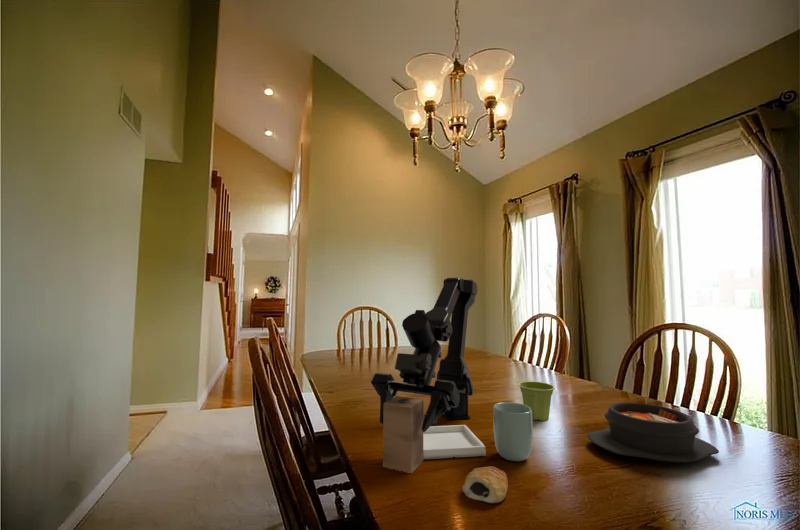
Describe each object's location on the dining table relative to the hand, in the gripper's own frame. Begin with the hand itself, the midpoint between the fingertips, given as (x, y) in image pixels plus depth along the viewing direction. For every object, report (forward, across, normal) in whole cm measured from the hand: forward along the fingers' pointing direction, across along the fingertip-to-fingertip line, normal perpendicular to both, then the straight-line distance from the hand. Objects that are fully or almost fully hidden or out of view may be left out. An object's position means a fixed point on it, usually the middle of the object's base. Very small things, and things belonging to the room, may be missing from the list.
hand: (401, 426), depth 72 cm
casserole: (-17, +45, +27) cm, 55 cm away
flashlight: (-9, -6, +19) cm, 22 cm away
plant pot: (-26, +20, +36) cm, 48 cm away
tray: (-5, +4, +15) cm, 16 cm away
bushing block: (+4, 0, +6) cm, 7 cm away
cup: (-5, +19, +15) cm, 25 cm away
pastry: (+7, +17, +4) cm, 19 cm away
